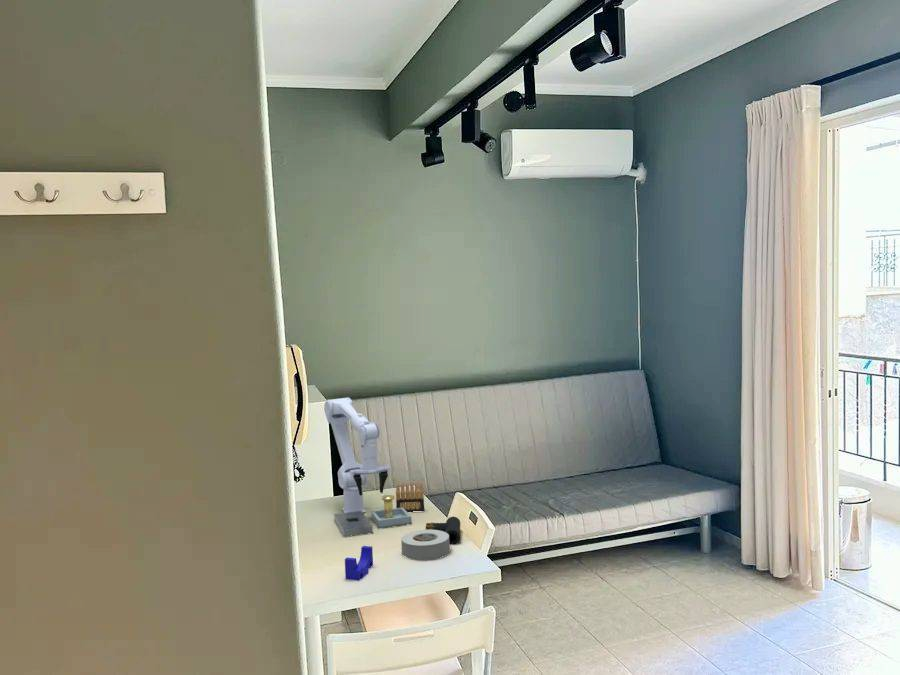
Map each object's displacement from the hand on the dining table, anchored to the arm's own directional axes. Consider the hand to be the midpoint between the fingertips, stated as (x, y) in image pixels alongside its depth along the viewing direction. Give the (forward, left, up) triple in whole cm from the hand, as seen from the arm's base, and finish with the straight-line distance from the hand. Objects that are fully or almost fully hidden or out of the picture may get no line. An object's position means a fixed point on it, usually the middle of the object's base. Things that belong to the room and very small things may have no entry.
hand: (371, 493), depth 278 cm
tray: (+5, +6, -10) cm, 13 cm away
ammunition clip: (-4, +16, -10) cm, 19 cm away
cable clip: (+49, -14, -10) cm, 52 cm away
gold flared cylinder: (+5, +5, -9) cm, 12 cm away
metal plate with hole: (+5, -8, -10) cm, 14 cm away
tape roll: (+40, +9, -10) cm, 42 cm away
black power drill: (+29, +18, -10) cm, 36 cm away
